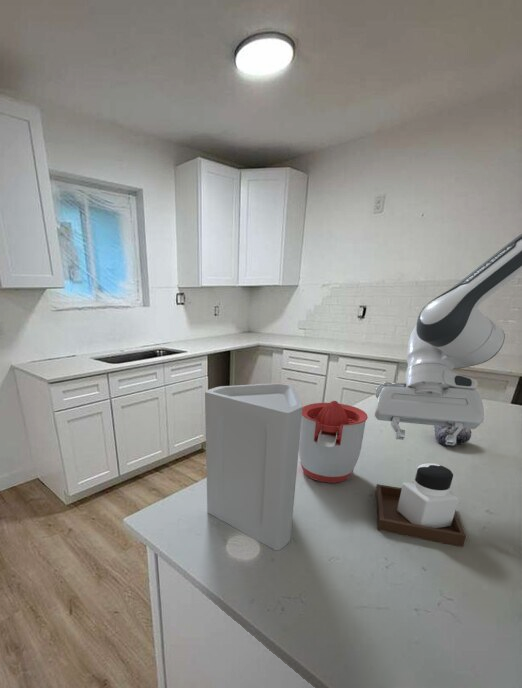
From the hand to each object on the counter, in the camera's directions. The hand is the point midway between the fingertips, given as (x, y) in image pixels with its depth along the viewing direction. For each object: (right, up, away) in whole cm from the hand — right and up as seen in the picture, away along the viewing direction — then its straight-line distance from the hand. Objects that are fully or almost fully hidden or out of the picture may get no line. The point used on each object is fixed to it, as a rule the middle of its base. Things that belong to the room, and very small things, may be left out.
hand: (424, 441), depth 77 cm
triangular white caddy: (-35, -16, +3) cm, 39 cm away
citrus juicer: (-15, -9, +18) cm, 25 cm away
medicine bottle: (-1, -16, -2) cm, 16 cm away
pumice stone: (+28, -1, +33) cm, 43 cm away
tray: (-2, -16, 0) cm, 16 cm away
